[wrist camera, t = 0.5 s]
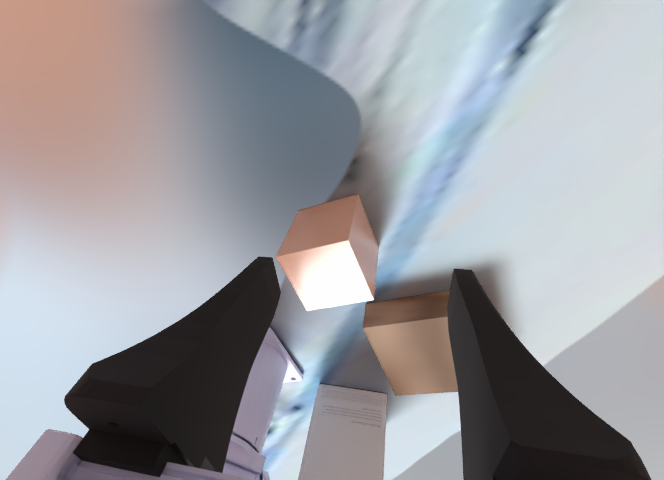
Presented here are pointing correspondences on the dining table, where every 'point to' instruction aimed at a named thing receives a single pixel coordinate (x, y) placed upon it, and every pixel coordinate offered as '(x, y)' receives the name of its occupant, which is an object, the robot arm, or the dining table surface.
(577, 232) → the dining table surface
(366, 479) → the supplement box
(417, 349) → the walnut box
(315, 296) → the terracotta block
